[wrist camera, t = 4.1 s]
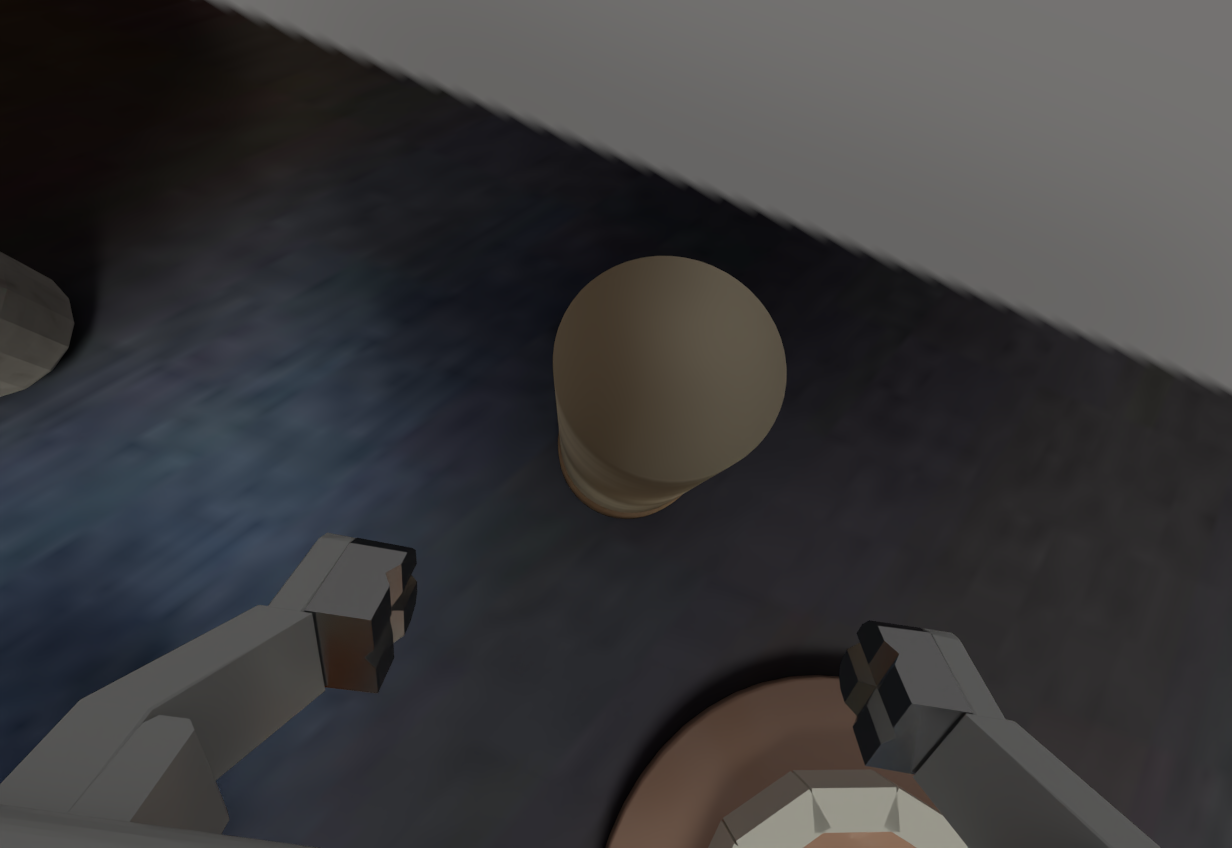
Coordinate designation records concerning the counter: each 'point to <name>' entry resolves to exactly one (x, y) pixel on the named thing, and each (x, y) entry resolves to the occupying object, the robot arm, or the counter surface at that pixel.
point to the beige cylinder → (662, 382)
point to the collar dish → (776, 780)
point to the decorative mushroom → (30, 325)
